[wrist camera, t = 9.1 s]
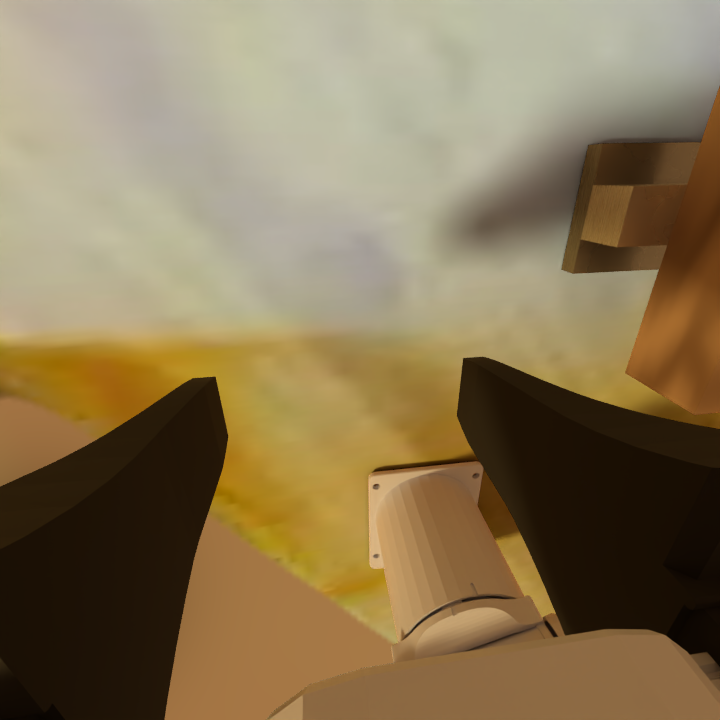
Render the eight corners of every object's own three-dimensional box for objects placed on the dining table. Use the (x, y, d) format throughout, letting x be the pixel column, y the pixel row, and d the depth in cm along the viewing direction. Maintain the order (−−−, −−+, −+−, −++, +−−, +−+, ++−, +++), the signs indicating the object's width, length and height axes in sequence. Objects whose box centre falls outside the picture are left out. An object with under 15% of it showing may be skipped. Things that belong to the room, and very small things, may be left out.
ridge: (690, 263, 22) (755, 277, 18) (561, 269, 21) (606, 285, 18) (734, 143, 19) (819, 136, 16) (588, 145, 18) (646, 138, 15)
